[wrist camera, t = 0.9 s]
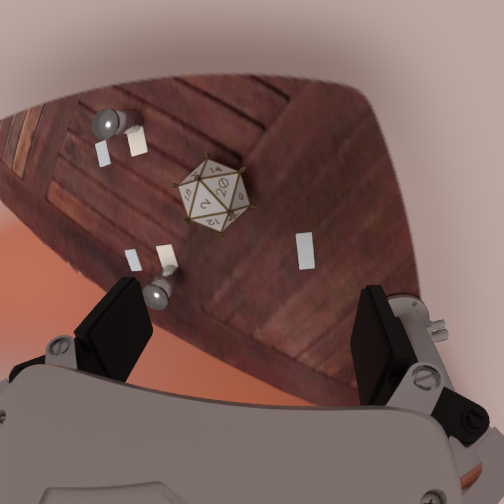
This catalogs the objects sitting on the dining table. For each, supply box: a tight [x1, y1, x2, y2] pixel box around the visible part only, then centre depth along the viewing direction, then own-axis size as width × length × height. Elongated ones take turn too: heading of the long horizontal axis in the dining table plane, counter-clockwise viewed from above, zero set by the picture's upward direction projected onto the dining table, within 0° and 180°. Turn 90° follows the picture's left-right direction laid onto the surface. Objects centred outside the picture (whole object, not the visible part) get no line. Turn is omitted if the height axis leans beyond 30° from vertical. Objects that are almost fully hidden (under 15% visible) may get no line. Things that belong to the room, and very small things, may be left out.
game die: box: [170, 151, 258, 240], centre depth 30 cm, size 9×8×10 cm
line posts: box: [92, 109, 182, 310], centre depth 32 cm, size 4×26×7 cm, turn 10°
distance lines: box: [95, 126, 315, 271], centre depth 34 cm, size 27×22×1 cm
